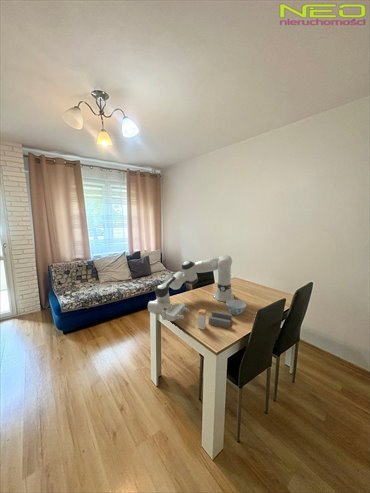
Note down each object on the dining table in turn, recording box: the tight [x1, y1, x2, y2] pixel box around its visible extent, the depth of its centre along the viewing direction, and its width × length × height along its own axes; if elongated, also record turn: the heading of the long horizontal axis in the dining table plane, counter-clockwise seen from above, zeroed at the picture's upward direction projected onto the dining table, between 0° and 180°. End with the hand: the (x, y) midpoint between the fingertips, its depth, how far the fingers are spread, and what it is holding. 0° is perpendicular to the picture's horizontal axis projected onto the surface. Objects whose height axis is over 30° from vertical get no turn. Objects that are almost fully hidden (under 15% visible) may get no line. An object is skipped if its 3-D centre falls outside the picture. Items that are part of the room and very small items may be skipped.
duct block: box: [208, 310, 233, 329], centre depth 141 cm, size 12×14×4 cm
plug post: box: [197, 308, 207, 331], centre depth 133 cm, size 4×4×12 cm
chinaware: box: [225, 299, 247, 316], centre depth 155 cm, size 15×15×8 cm
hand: (186, 313), depth 137 cm, fingers open, 8 cm apart
